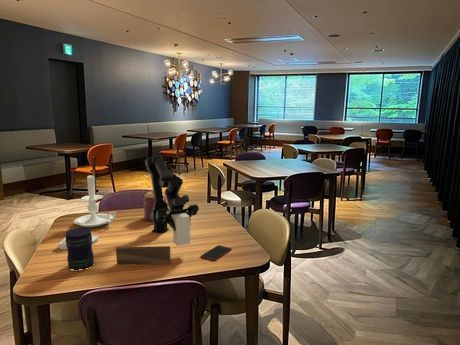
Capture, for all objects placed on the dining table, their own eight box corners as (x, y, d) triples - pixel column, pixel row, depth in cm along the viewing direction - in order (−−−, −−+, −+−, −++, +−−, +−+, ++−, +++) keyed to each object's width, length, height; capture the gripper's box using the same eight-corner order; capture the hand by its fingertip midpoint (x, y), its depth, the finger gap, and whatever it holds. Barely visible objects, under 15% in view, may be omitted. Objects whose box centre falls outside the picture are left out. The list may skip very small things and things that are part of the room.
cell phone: (199, 258, 155) (199, 256, 155) (218, 246, 167) (218, 244, 167) (214, 262, 151) (214, 260, 151) (232, 250, 163) (232, 248, 163)
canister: (156, 213, 217) (154, 185, 214) (171, 217, 210) (170, 188, 206) (139, 219, 207) (137, 189, 203) (154, 223, 199) (153, 192, 196)
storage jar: (68, 273, 141) (64, 237, 138) (68, 263, 150) (65, 229, 147) (94, 268, 145) (92, 233, 142) (93, 259, 154) (90, 226, 151)
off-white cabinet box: (173, 242, 158) (172, 215, 156) (186, 239, 161) (185, 213, 158) (177, 245, 154) (176, 218, 151) (190, 243, 156) (189, 216, 154)
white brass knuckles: (77, 253, 161) (51, 249, 166) (103, 239, 178) (79, 235, 182) (76, 246, 160) (51, 242, 165) (102, 232, 177) (78, 229, 182)
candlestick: (104, 233, 184) (100, 180, 179) (65, 228, 192) (60, 177, 186) (127, 221, 203) (124, 173, 198) (91, 217, 211) (87, 170, 206)
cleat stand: (124, 253, 159) (123, 239, 158) (173, 253, 160) (172, 238, 158) (117, 264, 148) (115, 249, 147) (170, 263, 149) (169, 248, 147)
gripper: (156, 191, 152) (164, 224, 144) (196, 186, 160) (207, 217, 153) (152, 204, 160) (160, 236, 153) (191, 199, 169) (200, 229, 161)
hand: (182, 229), depth 155 cm, fingers closed on off-white cabinet box, 6 cm apart
